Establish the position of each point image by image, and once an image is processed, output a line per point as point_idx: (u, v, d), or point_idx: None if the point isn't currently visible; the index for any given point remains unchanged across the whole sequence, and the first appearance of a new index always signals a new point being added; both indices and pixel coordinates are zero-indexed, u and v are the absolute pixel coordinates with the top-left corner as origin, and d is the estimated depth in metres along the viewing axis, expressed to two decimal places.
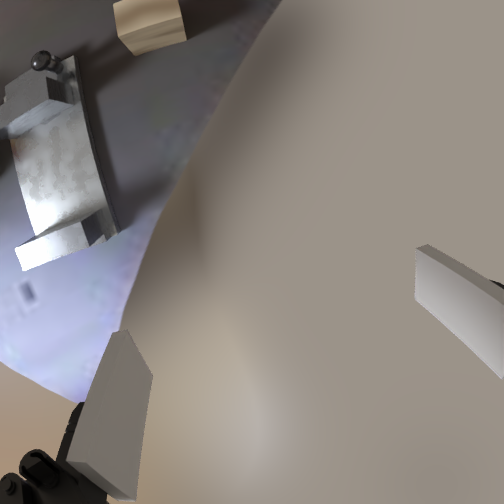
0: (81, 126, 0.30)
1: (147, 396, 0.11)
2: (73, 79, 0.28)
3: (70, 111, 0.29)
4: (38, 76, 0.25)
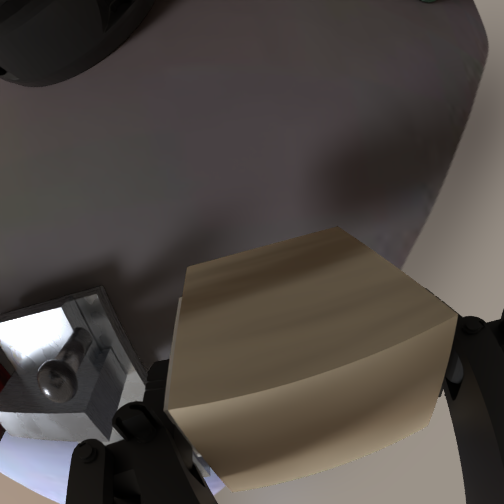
0: None
1: None
2: (111, 338, 0.20)
3: None
4: (46, 336, 0.17)
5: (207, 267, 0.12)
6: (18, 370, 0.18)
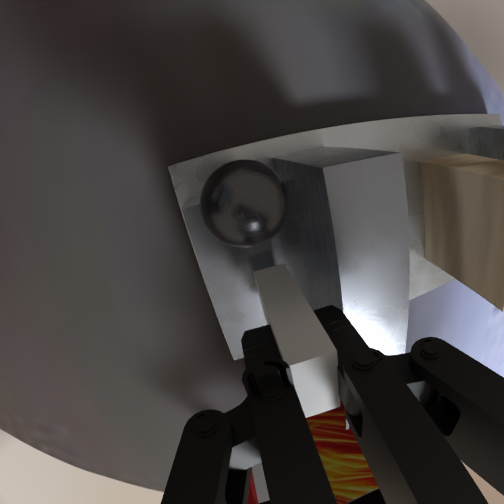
0: (360, 133, 0.15)
1: None
2: (240, 156, 0.15)
3: None
4: (237, 253, 0.14)
5: (430, 250, 0.18)
6: None
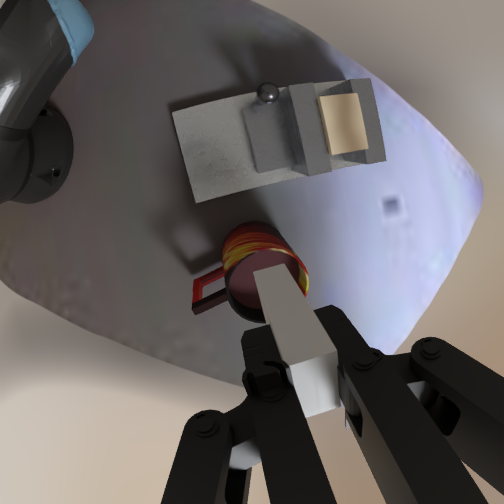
0: (251, 97, 0.36)
1: None
2: (199, 108, 0.35)
3: (234, 109, 0.36)
4: (262, 124, 0.35)
5: None
6: (292, 163, 0.38)
